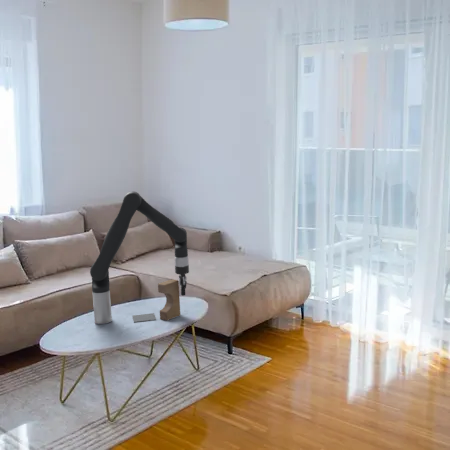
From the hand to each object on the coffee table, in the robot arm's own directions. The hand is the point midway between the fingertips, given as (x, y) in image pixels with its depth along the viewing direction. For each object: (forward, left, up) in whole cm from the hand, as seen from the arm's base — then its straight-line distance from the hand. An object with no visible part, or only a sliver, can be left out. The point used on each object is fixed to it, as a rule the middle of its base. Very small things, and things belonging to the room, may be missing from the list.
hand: (183, 295), depth 326 cm
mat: (-22, +3, -12) cm, 25 cm away
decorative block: (-8, 0, -12) cm, 14 cm away
